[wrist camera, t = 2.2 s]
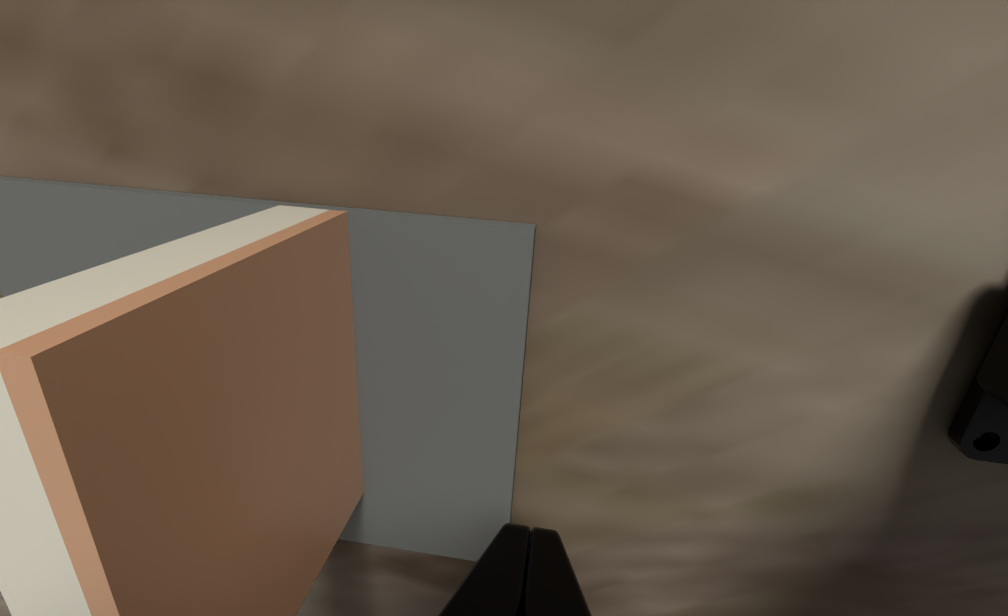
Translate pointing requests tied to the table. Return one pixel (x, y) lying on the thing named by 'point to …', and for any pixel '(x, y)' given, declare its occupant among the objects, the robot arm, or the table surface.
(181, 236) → the mat
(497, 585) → the robot arm
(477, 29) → the table surface
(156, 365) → the tile
